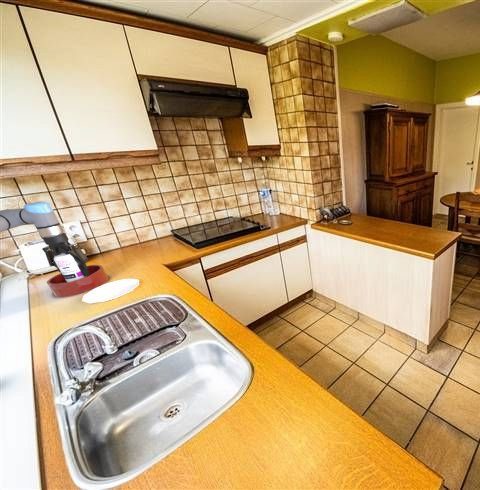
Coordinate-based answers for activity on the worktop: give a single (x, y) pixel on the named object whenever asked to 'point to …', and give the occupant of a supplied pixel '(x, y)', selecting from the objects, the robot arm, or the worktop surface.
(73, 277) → the supplement can
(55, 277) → the red round shallow bowl
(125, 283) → the plate
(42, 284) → the worktop surface
